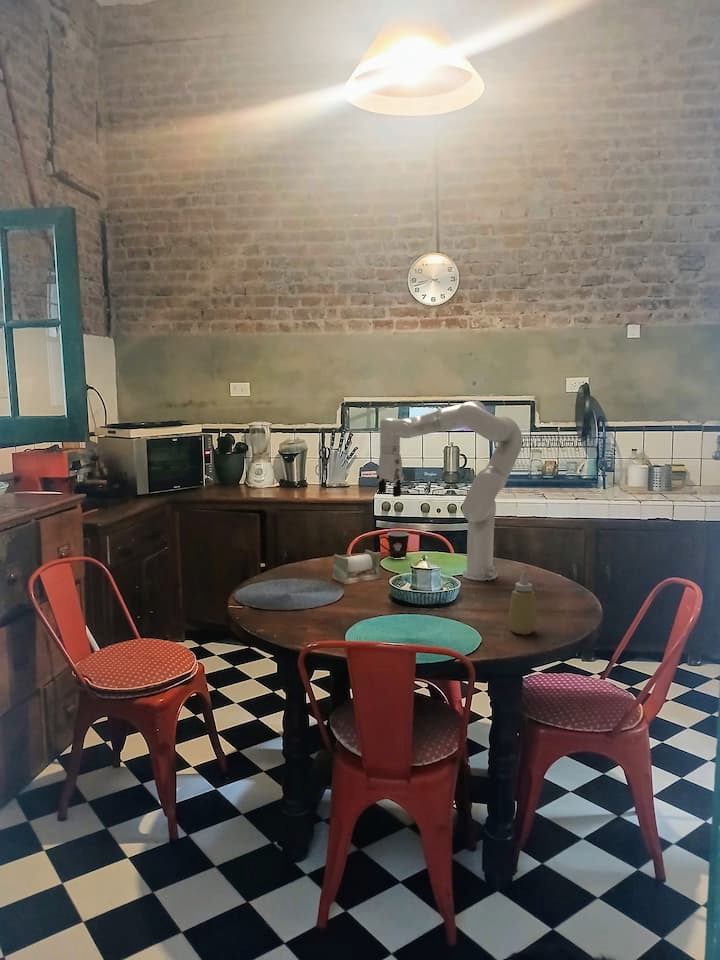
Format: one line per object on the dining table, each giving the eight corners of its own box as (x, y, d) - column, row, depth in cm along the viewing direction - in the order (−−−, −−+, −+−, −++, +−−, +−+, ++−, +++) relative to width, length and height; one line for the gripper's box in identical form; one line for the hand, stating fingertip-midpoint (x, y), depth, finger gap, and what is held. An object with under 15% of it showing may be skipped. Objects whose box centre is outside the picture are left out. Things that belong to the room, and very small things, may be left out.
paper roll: (364, 568, 276) (364, 552, 276) (372, 571, 271) (372, 555, 270) (340, 572, 271) (340, 556, 270) (349, 575, 266) (348, 559, 265)
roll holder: (366, 572, 279) (367, 549, 278) (380, 578, 272) (380, 554, 271) (332, 578, 271) (332, 554, 270) (345, 584, 264) (345, 559, 263)
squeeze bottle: (532, 626, 221) (534, 568, 218) (539, 636, 213) (541, 575, 210) (505, 626, 221) (507, 568, 218) (511, 636, 213) (513, 575, 210)
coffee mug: (412, 557, 303) (412, 533, 302) (402, 561, 296) (402, 537, 294) (387, 553, 309) (388, 529, 308) (377, 557, 302) (377, 533, 301)
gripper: (411, 451, 277) (410, 496, 280) (385, 447, 292) (384, 490, 294) (395, 452, 273) (394, 498, 276) (369, 448, 288) (368, 492, 290)
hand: (389, 494), depth 285 cm, fingers open, 9 cm apart
